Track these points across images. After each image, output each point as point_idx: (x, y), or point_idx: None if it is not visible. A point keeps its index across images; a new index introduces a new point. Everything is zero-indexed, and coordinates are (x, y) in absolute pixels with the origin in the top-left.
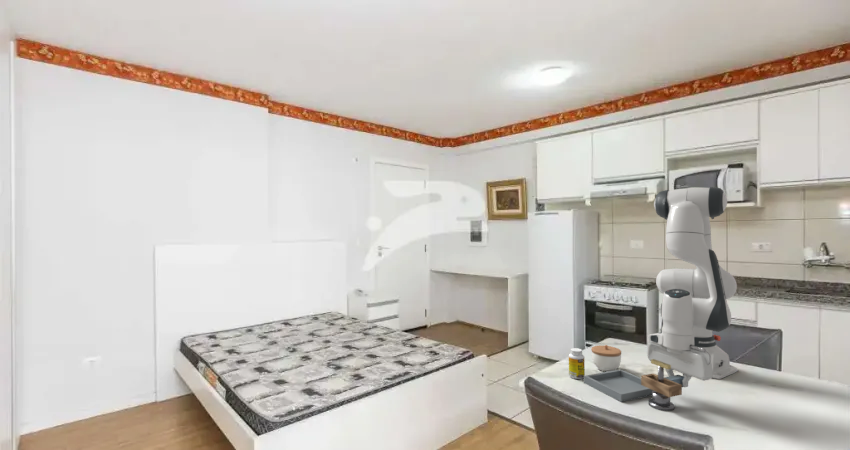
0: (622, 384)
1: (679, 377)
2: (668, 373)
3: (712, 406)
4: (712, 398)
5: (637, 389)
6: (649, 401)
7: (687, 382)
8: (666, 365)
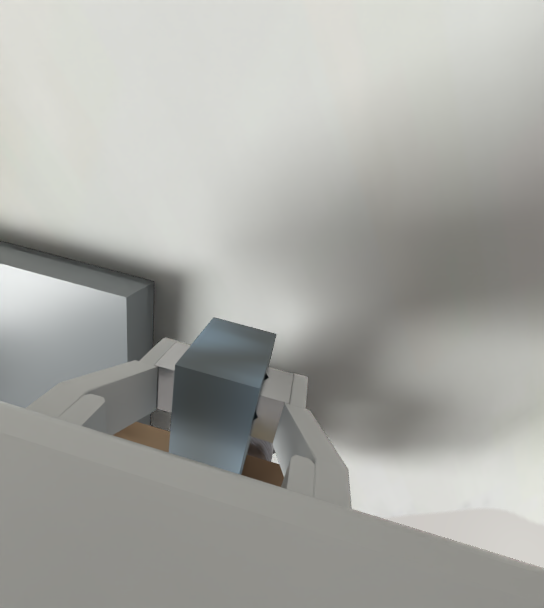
0: (14, 340)
1: (230, 435)
2: (120, 422)
3: (426, 213)
4: (385, 34)
5: None
6: None
7: (304, 405)
8: None
